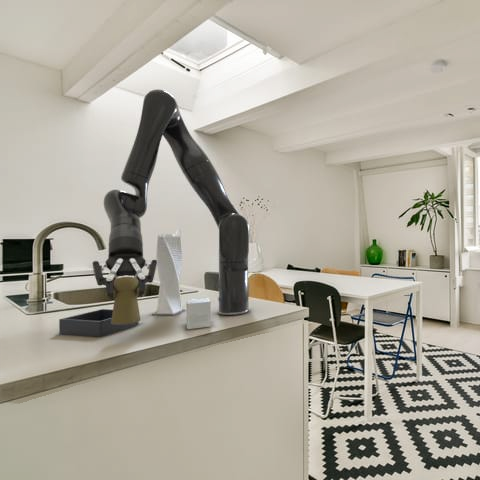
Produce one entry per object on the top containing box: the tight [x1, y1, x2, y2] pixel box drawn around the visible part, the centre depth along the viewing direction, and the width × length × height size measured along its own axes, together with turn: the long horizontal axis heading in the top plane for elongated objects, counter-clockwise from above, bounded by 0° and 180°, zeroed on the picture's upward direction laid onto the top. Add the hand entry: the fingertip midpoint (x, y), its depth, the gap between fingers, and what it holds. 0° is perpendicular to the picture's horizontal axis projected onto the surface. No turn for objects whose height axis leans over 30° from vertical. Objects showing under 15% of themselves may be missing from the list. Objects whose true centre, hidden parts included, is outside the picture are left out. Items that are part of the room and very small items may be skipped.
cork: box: [111, 276, 141, 325], centre depth 82 cm, size 6×6×11 cm
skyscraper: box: [151, 228, 186, 316], centre depth 110 cm, size 8×8×28 cm
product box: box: [185, 297, 212, 330], centre depth 96 cm, size 6×6×7 cm
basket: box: [58, 308, 140, 338], centre depth 92 cm, size 12×12×4 cm
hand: (126, 295), depth 81 cm, fingers closed on cork, 5 cm apart
